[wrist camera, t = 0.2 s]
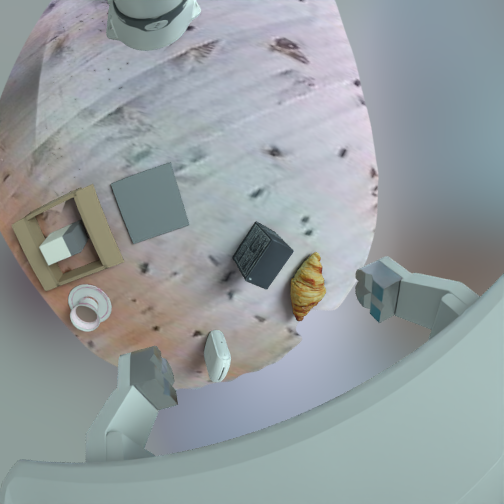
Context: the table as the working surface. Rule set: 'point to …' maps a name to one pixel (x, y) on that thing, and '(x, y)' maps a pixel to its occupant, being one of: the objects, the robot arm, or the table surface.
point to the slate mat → (150, 203)
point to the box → (64, 242)
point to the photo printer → (217, 356)
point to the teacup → (88, 307)
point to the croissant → (307, 286)
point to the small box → (261, 256)
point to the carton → (96, 229)
